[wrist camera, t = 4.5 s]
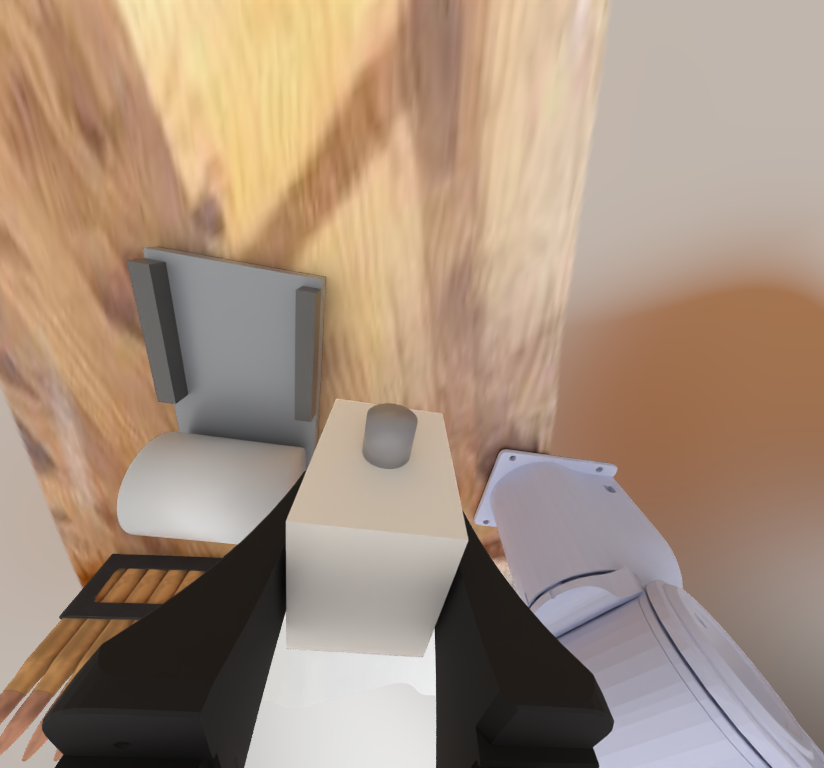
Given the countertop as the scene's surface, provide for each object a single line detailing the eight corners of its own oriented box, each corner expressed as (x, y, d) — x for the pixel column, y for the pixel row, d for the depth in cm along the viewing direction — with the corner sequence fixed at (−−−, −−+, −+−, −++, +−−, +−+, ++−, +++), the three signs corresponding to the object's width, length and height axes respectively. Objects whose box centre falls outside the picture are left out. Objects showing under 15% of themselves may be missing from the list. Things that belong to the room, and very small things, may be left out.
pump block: (450, 384, 12) (483, 500, 7) (416, 511, 16) (422, 657, 10) (338, 367, 12) (285, 477, 7) (327, 501, 15) (286, 648, 10)
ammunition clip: (232, 558, 29) (128, 755, 18) (236, 570, 29) (138, 766, 19) (111, 553, 28) (-71, 755, 17) (118, 566, 29) (-52, 766, 18)
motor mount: (326, 277, 17) (281, 304, 11) (315, 484, 24) (285, 571, 18) (157, 246, 17) (7, 258, 10) (197, 470, 24) (122, 557, 17)
